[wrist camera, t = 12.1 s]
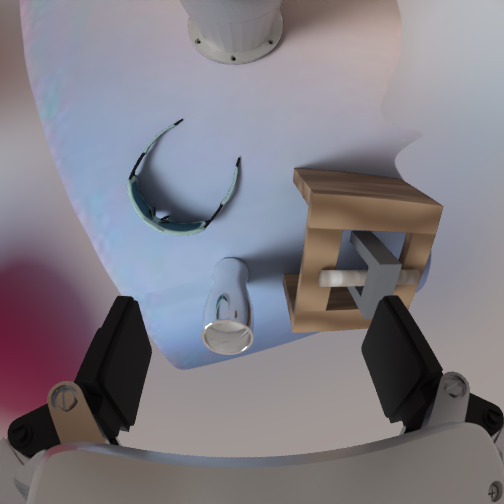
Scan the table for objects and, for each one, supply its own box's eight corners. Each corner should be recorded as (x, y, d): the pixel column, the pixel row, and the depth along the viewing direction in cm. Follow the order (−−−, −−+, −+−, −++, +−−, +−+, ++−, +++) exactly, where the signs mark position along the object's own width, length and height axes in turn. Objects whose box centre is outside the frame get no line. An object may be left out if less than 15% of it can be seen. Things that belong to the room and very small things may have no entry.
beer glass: (258, 263, 47) (264, 328, 34) (241, 294, 50) (242, 360, 37) (218, 249, 45) (210, 311, 32) (204, 281, 48) (193, 347, 35)
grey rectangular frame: (351, 230, 37) (379, 264, 28) (370, 231, 37) (402, 264, 28) (342, 278, 40) (364, 319, 32) (360, 278, 40) (385, 317, 32)
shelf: (294, 168, 39) (318, 199, 27) (400, 179, 40) (452, 212, 28) (282, 283, 49) (294, 342, 37) (375, 282, 50) (406, 333, 38)
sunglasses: (121, 195, 40) (110, 202, 36) (173, 112, 37) (167, 109, 32) (194, 241, 45) (192, 254, 40) (250, 164, 41) (254, 168, 36)
